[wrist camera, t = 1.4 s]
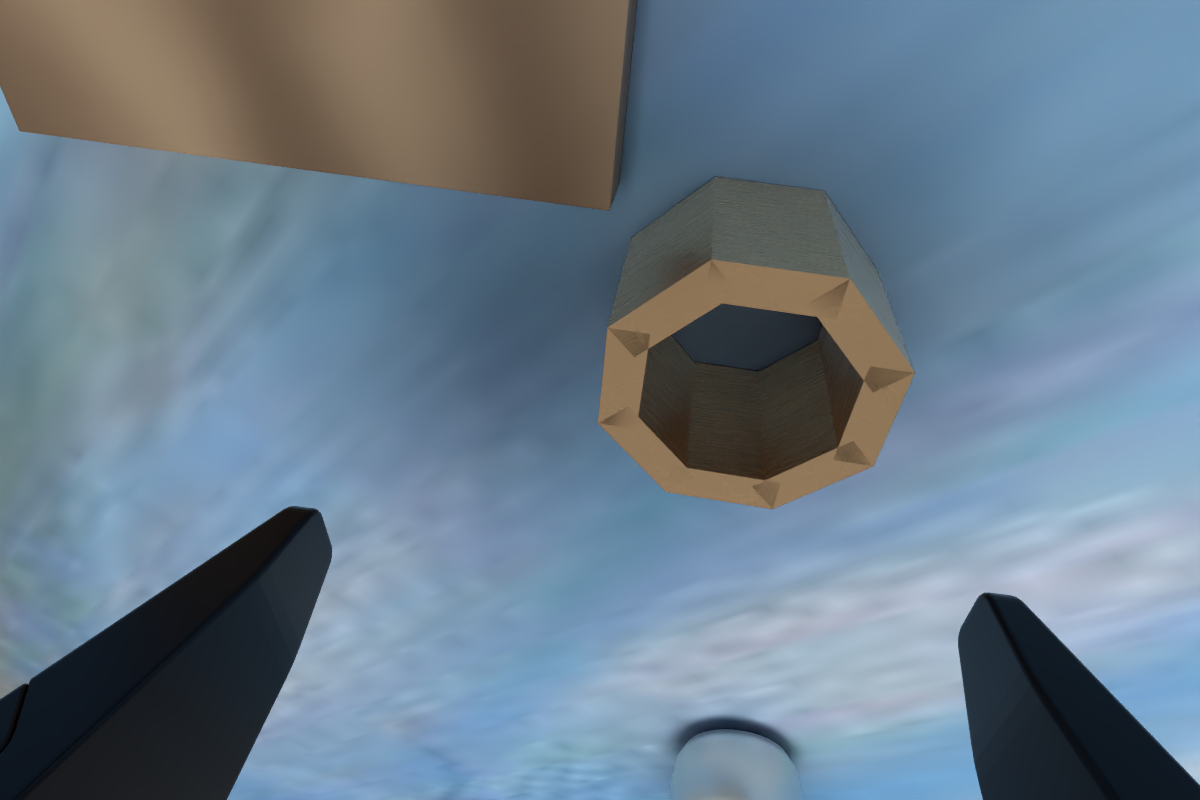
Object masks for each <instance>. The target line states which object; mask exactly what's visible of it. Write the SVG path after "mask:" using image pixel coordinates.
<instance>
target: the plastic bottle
mask: <svg viewBox="0 0 1200 800" xmlns="http://www.w3.org/2000/svg"><path fill="white" fill-rule="evenodd" d="M670 799H671V800H804V796H803V792H802V788H801V784H800V779H799V775H798V772H797V769H796V767H795V766H794V764H793V763H792V761H791V760H790V758H789V757H788V755H787V754H786V753H785V751H784V750H783V749H782V748H781V747H780V746H779V745H778V744H776V743H775V742H773V741H772V740H770V739H768V738H765V737H763V736H761V735H758V734H754V733H751V732H746V731H741V730H732V729H719V730H710V731H706V732H702V733H700V734H697V735H695V736H693V737H692V738H691V739H689V741H688V742H687V743H686V744H685V746H684V747H683V748H682V750H681V751H680V752H679V753H678V755H677V758H676V761H675V765H674V770H673V774H672V779H671V784H670Z"/></svg>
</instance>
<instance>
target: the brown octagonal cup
mask: <svg viewBox="0 0 1200 800" xmlns="http://www.w3.org/2000/svg"><path fill="white" fill-rule="evenodd" d="M722 303H723V304H730V305H737V306H744V307H751V308H758V309H765V310H772V311H779V312H786V313H793V314H800V315H807V316H814V317H817V318H818V319H819V320H820V322H821V323H822V324H823V325H822V328H821V331H820V335H819V338H818V340H817V341H815V342H813V343H811V344H809V345H807V346H805V347H804V348H802V349H800V350H798V351H796V352H794V353H792V354H791V355H789V356H787V357H785V358H783V359H781V360H779V361H778V362H776V363H774V364H772V365H770V366H768V367H767V368H765V369H763V370H761V371H752V370H745V369H738V368H732V367H725V366H718V365H711V364H705V363H698V362H694V361H693V360H692V359H691V357H690V356H689V355H688V354H687V353H686V352H685V351H684V349H683V348H682V347H681V346H680V345H679V344H678V342H677V341H676V340H675V339H674V338H673V337H672V334H673V333H675V332H676V331H678V330H680V329H681V328H683V327H685V326H686V325H688V324H689V323H691V322H693V321H694V320H696V319H698V318H699V317H701V316H703V315H704V314H706V313H707V312H709V311H711V310H712V309H714V308H716V307H717V306H719V305H720V304H722ZM914 374H915V372H914V369H913V366H912V363H911V361H910V358H909V355H908V353H907V350H906V347H905V344H904V342H903V339H902V336H901V333H900V331H899V328H898V325H897V323H896V320H895V317H894V314H893V312H892V309H891V306H890V303H889V301H888V298H887V295H886V292H885V290H884V287H883V284H882V282H881V279H880V276H879V273H878V271H877V269H876V268H875V266H874V265H873V263H872V262H871V260H870V259H869V257H868V256H867V254H866V253H865V251H864V250H863V248H862V247H861V245H860V244H859V242H858V241H857V239H856V238H855V236H854V235H853V233H852V232H851V230H850V229H849V227H848V226H847V224H846V223H845V221H844V220H843V218H842V217H841V215H840V214H839V212H838V211H837V209H836V208H835V206H834V205H833V203H832V202H831V200H830V199H829V197H828V196H827V194H826V192H825V191H822V190H814V189H807V188H799V187H791V186H784V185H776V184H768V183H761V182H753V181H745V180H738V179H730V178H722V177H714V178H713V179H711V180H710V181H709V182H707V183H706V184H704V185H703V186H702V187H700V188H699V189H697V190H696V191H695V192H693V193H692V194H691V195H689V196H688V197H686V198H685V199H684V200H682V201H681V202H679V203H678V204H677V205H675V206H674V207H673V208H671V209H670V210H668V211H667V212H666V213H664V214H663V215H662V216H660V217H659V218H657V219H656V220H655V221H653V222H652V223H650V224H649V225H648V226H646V227H645V228H644V229H642V230H641V231H639V232H638V233H637V234H635V235H634V236H632V237H631V241H630V244H629V248H628V252H627V256H626V260H625V263H624V267H623V271H622V275H621V278H620V282H619V286H618V290H617V294H616V297H615V301H614V305H613V309H612V312H611V316H610V320H609V324H608V328H607V337H606V347H605V357H604V367H603V377H602V387H601V397H600V407H599V417H598V424H599V425H600V426H601V427H602V428H603V429H604V430H605V431H606V432H607V433H608V434H609V435H610V436H611V437H612V438H613V439H614V440H615V441H616V442H617V443H618V444H619V445H620V446H621V447H622V448H623V449H624V450H625V451H626V452H627V453H628V454H629V455H630V456H631V457H632V458H633V459H634V460H635V461H636V462H637V463H638V464H639V465H640V466H641V467H642V468H643V469H644V470H645V471H646V472H647V473H648V474H649V475H650V476H651V477H652V478H653V479H654V480H655V481H656V482H657V483H658V484H659V485H660V486H661V487H662V488H663V489H664V490H665V491H666V492H670V493H676V494H682V495H688V496H694V497H701V498H707V499H713V500H719V501H725V502H731V503H738V504H744V505H750V506H756V507H762V508H768V509H774V508H776V507H779V506H781V505H783V504H786V503H788V502H790V501H793V500H795V499H797V498H800V497H802V496H804V495H807V494H809V493H812V492H814V491H816V490H819V489H821V488H823V487H826V486H828V485H830V484H833V483H835V482H837V481H840V480H842V479H845V478H847V477H849V476H852V475H854V474H856V473H859V472H861V471H863V470H866V469H868V468H870V467H873V466H874V464H875V462H876V459H877V457H878V455H879V453H880V450H881V448H882V446H883V444H884V441H885V439H886V437H887V435H888V432H889V430H890V428H891V426H892V423H893V421H894V419H895V417H896V414H897V412H898V410H899V407H900V405H901V403H902V401H903V398H904V396H905V394H906V392H907V389H908V387H909V385H910V383H911V380H912V378H913V376H914Z"/></svg>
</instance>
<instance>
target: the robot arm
mask: <svg viewBox="0 0 1200 800" xmlns="http://www.w3.org/2000/svg"><path fill="white" fill-rule="evenodd" d="M331 558H332V546H331V543H330V539H329V536H328V533H327V530H326V527H325V524H324V521H323V517H322V515H321V513H320V512H319V511H318V510H317V509H314V508H306V507H298V506H291V507H288V508H285V509H284V510H282V511H281V512H279V513H278V514H276V515H275V516H273V517H272V518H270V519H269V520H267V521H266V522H264V523H263V524H261V525H260V526H258V527H257V528H255V529H254V530H252V531H251V532H249V533H248V534H246V535H245V536H243V537H242V538H240V539H239V540H237V541H236V542H234V543H233V544H231V545H230V546H228V547H227V548H225V549H224V550H222V551H221V552H219V553H218V554H216V555H215V556H213V557H212V558H210V559H209V560H208V561H206V562H205V563H203V564H202V565H200V566H199V567H197V568H196V569H194V570H193V571H191V572H190V573H188V574H187V575H185V576H184V577H182V578H181V579H179V580H178V581H176V582H175V583H173V584H172V585H170V586H169V587H167V588H166V589H164V590H163V591H161V592H160V593H158V594H157V595H155V596H154V597H152V598H151V599H149V600H148V601H146V602H145V603H143V604H142V605H140V606H139V607H137V608H136V609H134V610H133V611H132V612H130V613H129V614H127V615H126V616H124V617H123V618H121V619H120V620H118V621H117V622H115V623H114V624H112V625H111V626H109V627H108V628H106V629H105V630H103V631H102V632H100V633H99V634H97V635H96V636H94V637H93V638H91V639H90V640H88V641H87V642H85V643H84V644H82V645H81V646H79V647H78V648H76V649H75V650H73V651H72V652H70V653H69V654H67V655H66V656H64V657H63V658H61V659H60V660H59V661H57V662H56V663H54V664H53V665H51V666H50V667H48V668H47V669H45V670H44V671H42V672H41V673H39V674H38V675H36V676H35V677H33V678H32V679H31V680H30V682H29V684H22V685H21V686H19V687H18V688H16V689H15V690H13V691H12V692H10V693H9V694H7V695H6V696H5V697H3V698H2V699H0V800H227V798H228V796H229V794H230V792H231V790H232V788H233V786H234V784H235V782H236V780H237V778H238V776H239V774H240V772H241V770H242V767H243V765H244V763H245V761H246V759H247V757H248V755H249V753H250V751H251V749H252V747H253V745H254V743H255V741H256V739H257V737H258V735H259V733H260V731H261V729H262V727H263V725H264V723H265V721H266V719H267V717H268V714H269V712H270V710H271V708H272V706H273V704H274V702H275V700H276V698H277V696H278V694H279V692H280V690H281V688H282V686H283V684H284V682H285V680H286V678H287V676H288V673H289V671H290V669H291V667H292V665H293V663H294V660H295V658H296V655H297V653H298V650H299V648H300V645H301V642H302V640H303V637H304V634H305V631H306V629H307V626H308V623H309V620H310V618H311V615H312V612H313V609H314V607H315V604H316V601H317V598H318V596H319V593H320V590H321V587H322V585H323V582H324V579H325V577H326V574H327V571H328V568H329V566H330V562H331ZM958 648H959V656H960V663H961V671H962V678H963V686H964V693H965V701H966V708H967V716H968V723H969V731H970V738H971V745H972V751H973V758H974V763H975V768H976V772H977V777H978V781H979V785H980V789H981V793H982V797H983V800H1200V785H1199V784H1198V783H1197V782H1196V781H1195V780H1194V779H1193V778H1192V777H1191V776H1190V774H1189V773H1188V772H1187V771H1186V770H1185V769H1184V768H1183V767H1182V766H1181V765H1180V764H1179V763H1178V762H1177V761H1176V760H1175V759H1174V758H1173V757H1172V756H1171V755H1170V754H1169V753H1168V752H1167V751H1166V750H1165V749H1164V748H1163V746H1162V745H1161V744H1160V743H1159V742H1158V741H1157V740H1156V739H1155V738H1154V737H1153V736H1152V735H1151V734H1150V733H1149V732H1148V731H1147V730H1146V729H1145V728H1144V727H1143V726H1142V725H1141V724H1140V723H1139V722H1138V721H1137V720H1136V718H1135V717H1134V716H1133V715H1132V714H1131V713H1130V712H1129V711H1128V710H1127V709H1126V708H1125V707H1124V706H1123V705H1122V704H1121V703H1120V702H1119V701H1118V700H1117V699H1116V698H1115V697H1114V696H1113V695H1112V694H1111V693H1110V692H1109V690H1108V689H1107V688H1106V687H1105V686H1104V685H1103V684H1102V683H1101V682H1100V681H1099V680H1098V679H1097V678H1096V677H1095V676H1094V675H1093V674H1092V673H1091V672H1090V671H1089V670H1088V669H1087V668H1086V667H1085V666H1084V665H1083V664H1082V662H1081V661H1080V660H1079V659H1078V658H1077V657H1076V656H1075V655H1074V654H1073V653H1072V652H1071V651H1070V650H1069V649H1068V648H1067V647H1066V646H1065V645H1064V644H1063V643H1062V642H1061V641H1060V640H1059V639H1058V638H1057V637H1056V636H1055V634H1054V633H1053V632H1052V631H1051V630H1050V629H1049V628H1048V627H1047V626H1046V625H1045V624H1044V623H1043V622H1042V621H1041V620H1040V619H1039V618H1038V617H1037V616H1036V615H1035V614H1034V613H1033V612H1032V611H1031V610H1030V609H1029V608H1028V606H1027V605H1026V604H1025V603H1024V602H1022V601H1021V600H1020V599H1018V598H1017V597H1015V596H1011V595H1003V594H995V593H983V594H982V595H980V596H979V597H978V598H977V600H976V602H975V604H974V605H973V607H972V609H971V611H970V612H969V614H968V616H967V618H966V619H965V621H964V623H963V625H962V627H961V629H960V632H959V637H958Z"/></svg>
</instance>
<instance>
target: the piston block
mask: <svg viewBox="0 0 1200 800" xmlns="http://www.w3.org/2000/svg"><path fill="white" fill-rule="evenodd" d="M636 8H637V0H0V87H1V89H2V91H3V94H4V96H5V98H6V101H7V103H8V105H9V108H10V110H11V112H12V115H13V117H14V119H15V122H16V124H17V126H18V129H19V131H23V132H30V133H37V134H45V135H52V136H60V137H67V138H75V139H82V140H89V141H97V142H104V143H112V144H119V145H126V146H134V147H141V148H149V149H156V150H163V151H171V152H178V153H186V154H193V155H200V156H208V157H215V158H223V159H230V160H237V161H245V162H252V163H260V164H267V165H274V166H282V167H289V168H297V169H304V170H312V171H319V172H326V173H334V174H341V175H349V176H356V177H363V178H371V179H378V180H386V181H393V182H400V183H408V184H415V185H423V186H430V187H437V188H445V189H452V190H460V191H467V192H474V193H482V194H489V195H497V196H504V197H512V198H519V199H526V200H534V201H541V202H549V203H556V204H563V205H571V206H578V207H586V208H593V209H600V210H608V211H610V208H611V205H612V202H613V199H614V196H615V194H616V191H617V188H618V185H619V181H620V171H621V161H622V151H623V141H624V130H625V120H626V110H627V100H628V89H629V79H630V69H631V59H632V49H633V38H634V28H635V18H636Z"/></svg>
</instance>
